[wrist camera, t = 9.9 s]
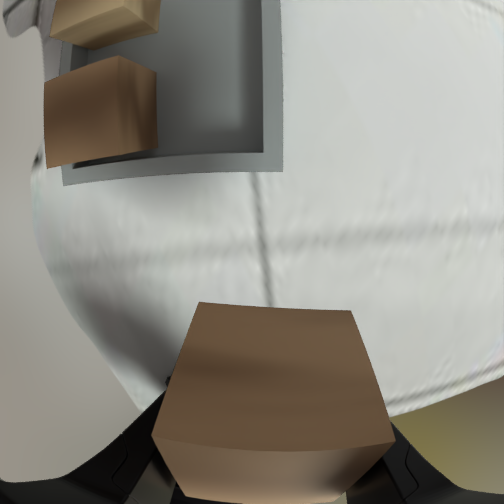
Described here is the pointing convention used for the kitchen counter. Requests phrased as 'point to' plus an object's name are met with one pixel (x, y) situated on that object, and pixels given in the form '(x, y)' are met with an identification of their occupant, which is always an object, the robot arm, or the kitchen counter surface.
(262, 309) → the block
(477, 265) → the kitchen counter surface
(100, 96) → the block
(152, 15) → the block
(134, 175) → the tray
